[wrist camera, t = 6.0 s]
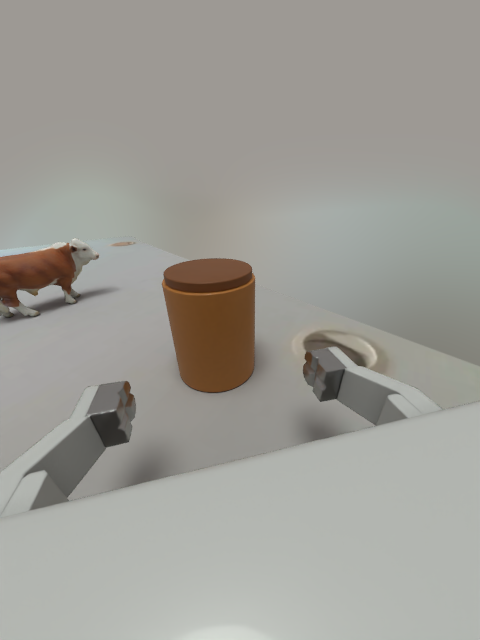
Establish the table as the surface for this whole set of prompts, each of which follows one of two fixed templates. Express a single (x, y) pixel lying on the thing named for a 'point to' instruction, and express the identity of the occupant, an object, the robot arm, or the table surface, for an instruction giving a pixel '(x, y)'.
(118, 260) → the table surface
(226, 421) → the table surface
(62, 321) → the table surface
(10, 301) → the bull figurine
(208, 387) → the brown lidded canister
